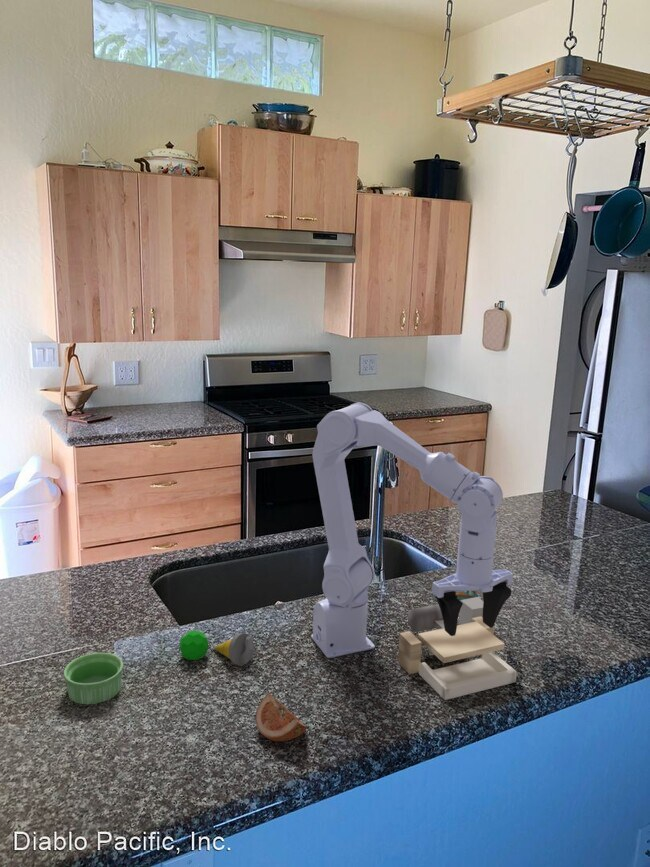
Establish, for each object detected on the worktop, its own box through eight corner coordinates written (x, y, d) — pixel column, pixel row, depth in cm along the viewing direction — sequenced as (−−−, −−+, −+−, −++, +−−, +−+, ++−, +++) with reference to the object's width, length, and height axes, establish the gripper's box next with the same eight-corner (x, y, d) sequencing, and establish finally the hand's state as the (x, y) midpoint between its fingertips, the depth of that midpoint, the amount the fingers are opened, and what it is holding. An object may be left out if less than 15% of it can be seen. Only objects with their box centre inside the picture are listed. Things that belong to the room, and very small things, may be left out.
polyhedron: (177, 653, 121) (176, 628, 120) (204, 648, 123) (204, 624, 122) (183, 668, 117) (182, 643, 116) (211, 662, 119) (211, 637, 118)
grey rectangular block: (470, 633, 131) (472, 609, 130) (458, 623, 135) (460, 600, 134) (487, 629, 133) (489, 606, 132) (475, 619, 136) (477, 596, 135)
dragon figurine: (446, 613, 147) (481, 613, 142) (430, 608, 142) (465, 608, 137) (447, 582, 149) (481, 582, 145) (431, 576, 144) (466, 575, 139)
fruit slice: (315, 744, 99) (316, 714, 98) (275, 762, 95) (276, 730, 94) (285, 713, 106) (286, 685, 105) (247, 729, 102) (247, 699, 101)
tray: (444, 703, 109) (445, 689, 109) (418, 676, 117) (419, 663, 116) (515, 684, 115) (516, 671, 114) (486, 660, 122) (487, 647, 122)
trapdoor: (397, 627, 125) (398, 607, 124) (453, 616, 129) (454, 596, 128) (443, 671, 111) (444, 649, 110) (503, 657, 116) (505, 635, 115)
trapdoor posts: (397, 664, 120) (399, 633, 119) (478, 645, 127) (480, 616, 125) (409, 676, 116) (411, 644, 115) (491, 657, 123) (494, 626, 122)
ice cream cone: (249, 629, 116) (207, 628, 122) (242, 662, 114) (199, 659, 119) (269, 639, 120) (227, 637, 125) (262, 670, 117) (219, 667, 123)
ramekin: (103, 669, 116) (102, 646, 115) (135, 690, 111) (134, 666, 110) (54, 693, 109) (52, 668, 108) (85, 717, 104) (84, 691, 103)
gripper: (451, 569, 104) (445, 649, 108) (528, 556, 110) (520, 632, 113) (427, 551, 111) (422, 627, 114) (500, 540, 116) (493, 612, 120)
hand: (469, 628), depth 114 cm, fingers open, 7 cm apart
